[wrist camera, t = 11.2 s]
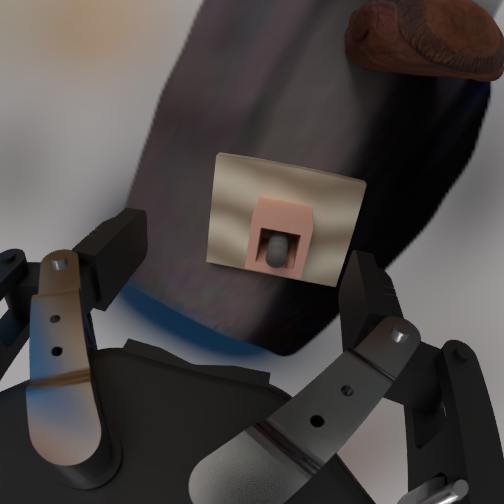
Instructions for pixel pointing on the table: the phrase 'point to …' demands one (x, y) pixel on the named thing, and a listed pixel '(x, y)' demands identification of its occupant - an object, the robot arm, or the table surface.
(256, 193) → the peg board
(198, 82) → the table surface
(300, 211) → the bead
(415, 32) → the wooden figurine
